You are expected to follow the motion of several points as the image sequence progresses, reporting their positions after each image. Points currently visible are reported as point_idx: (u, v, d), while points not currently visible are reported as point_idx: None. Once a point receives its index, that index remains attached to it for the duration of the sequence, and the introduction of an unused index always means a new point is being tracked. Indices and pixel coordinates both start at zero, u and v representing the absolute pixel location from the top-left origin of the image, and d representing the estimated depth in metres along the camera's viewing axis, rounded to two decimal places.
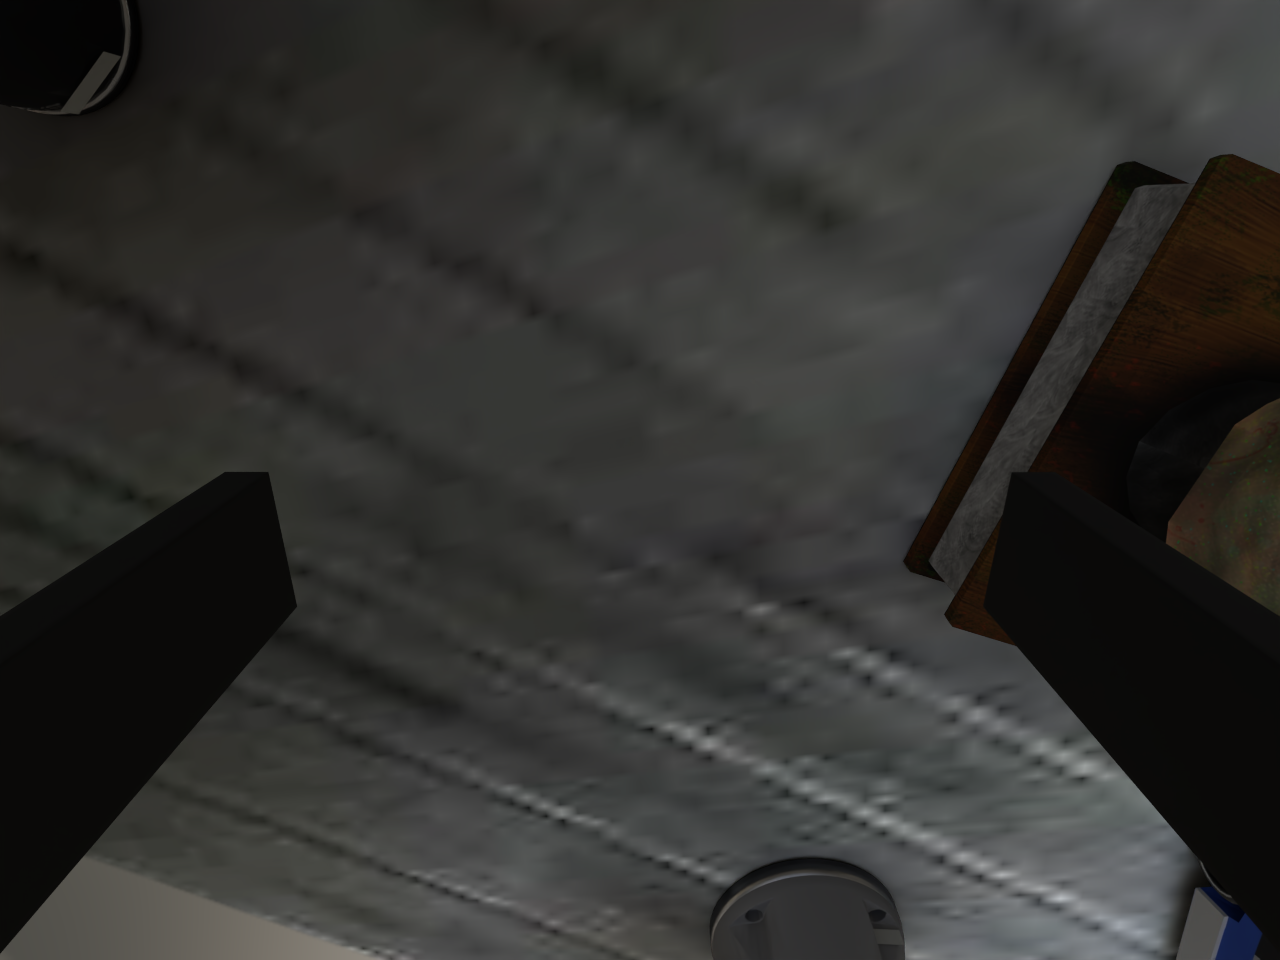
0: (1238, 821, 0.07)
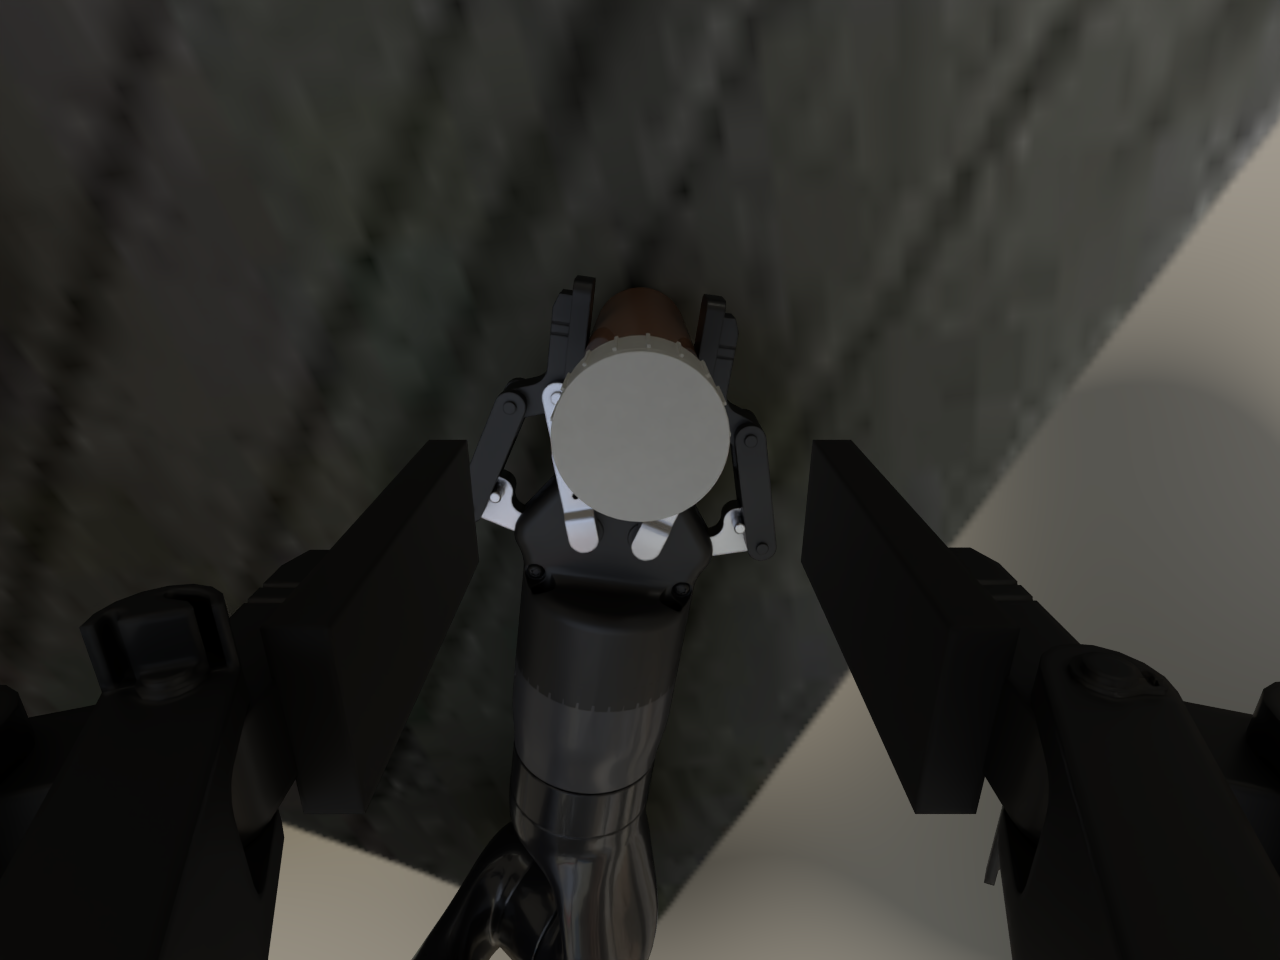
0: (899, 709, 0.09)
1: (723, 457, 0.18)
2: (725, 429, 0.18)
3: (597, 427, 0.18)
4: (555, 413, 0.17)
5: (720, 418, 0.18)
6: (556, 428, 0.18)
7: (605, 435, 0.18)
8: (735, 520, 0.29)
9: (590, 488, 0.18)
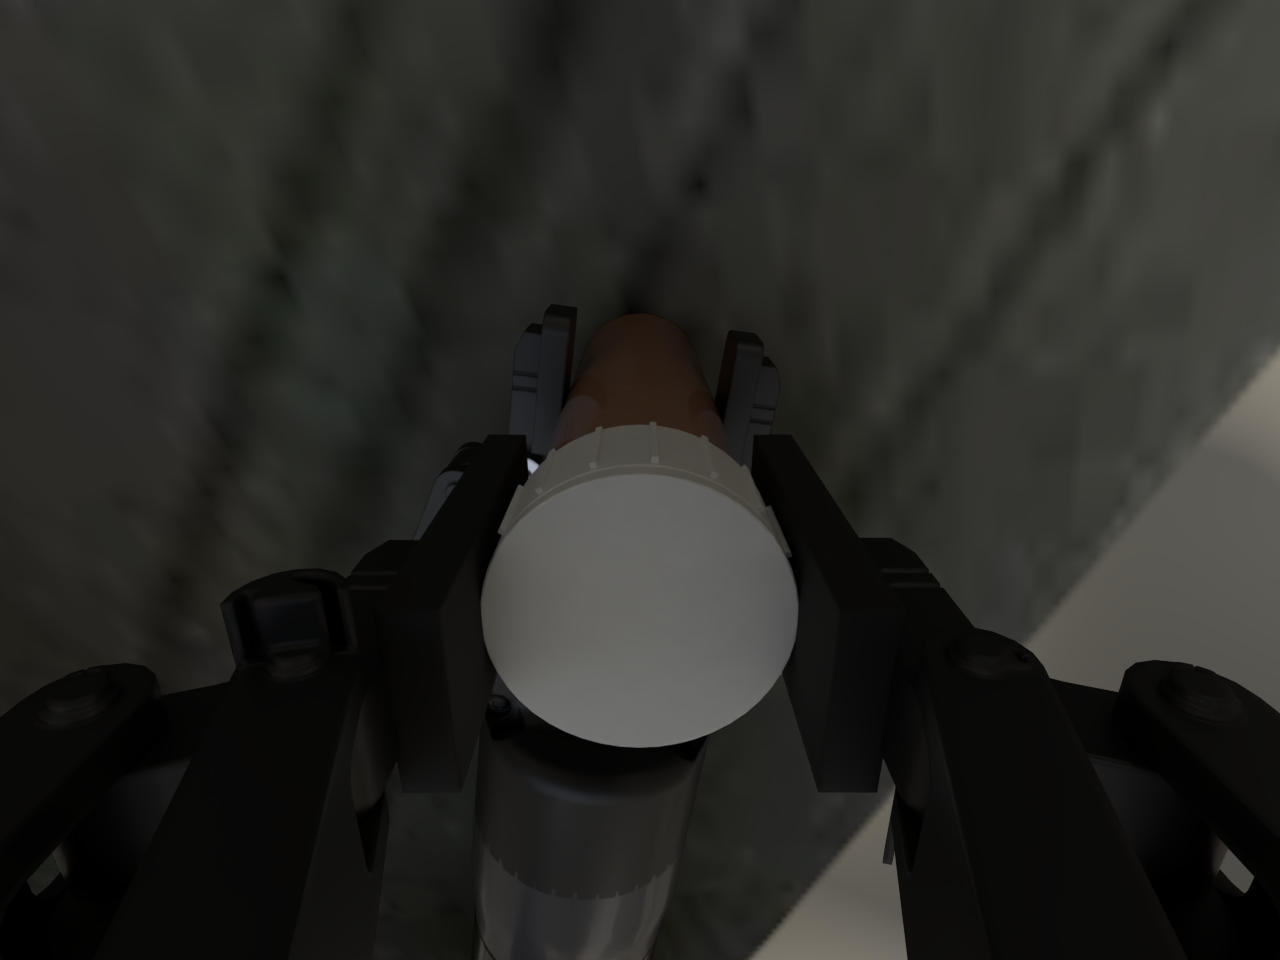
0: (808, 693, 0.09)
1: (786, 650, 0.10)
2: (791, 604, 0.10)
3: (563, 601, 0.10)
4: (487, 578, 0.10)
5: (783, 587, 0.10)
6: (489, 604, 0.10)
7: (577, 614, 0.10)
8: None
9: (552, 697, 0.10)
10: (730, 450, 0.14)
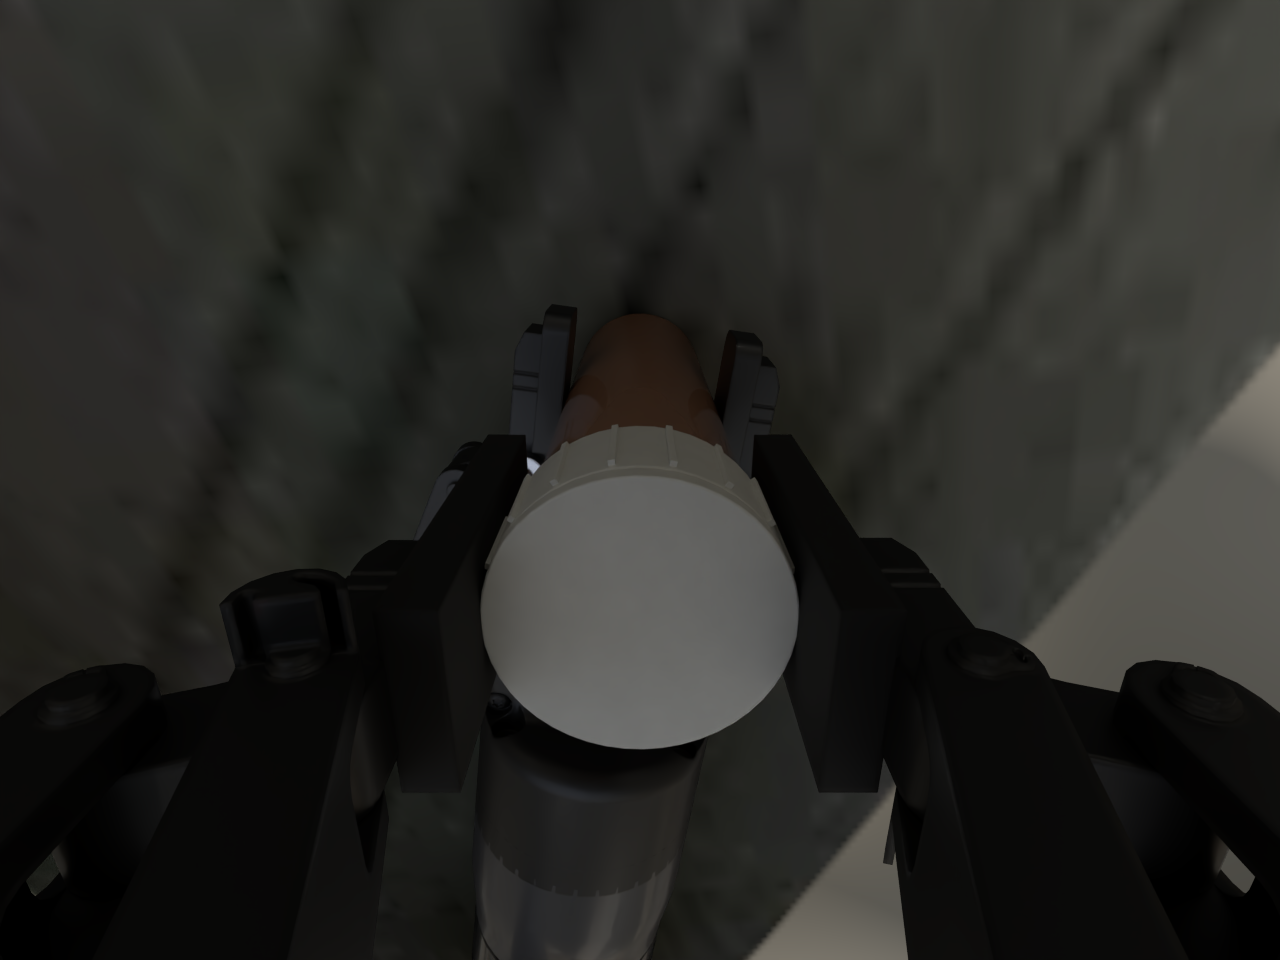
0: (808, 693, 0.09)
1: (645, 484, 0.09)
2: (590, 490, 0.09)
3: (628, 688, 0.10)
4: (616, 746, 0.11)
5: (570, 504, 0.09)
6: (640, 744, 0.11)
7: (639, 676, 0.10)
8: None
9: (741, 685, 0.10)
10: (729, 449, 0.14)
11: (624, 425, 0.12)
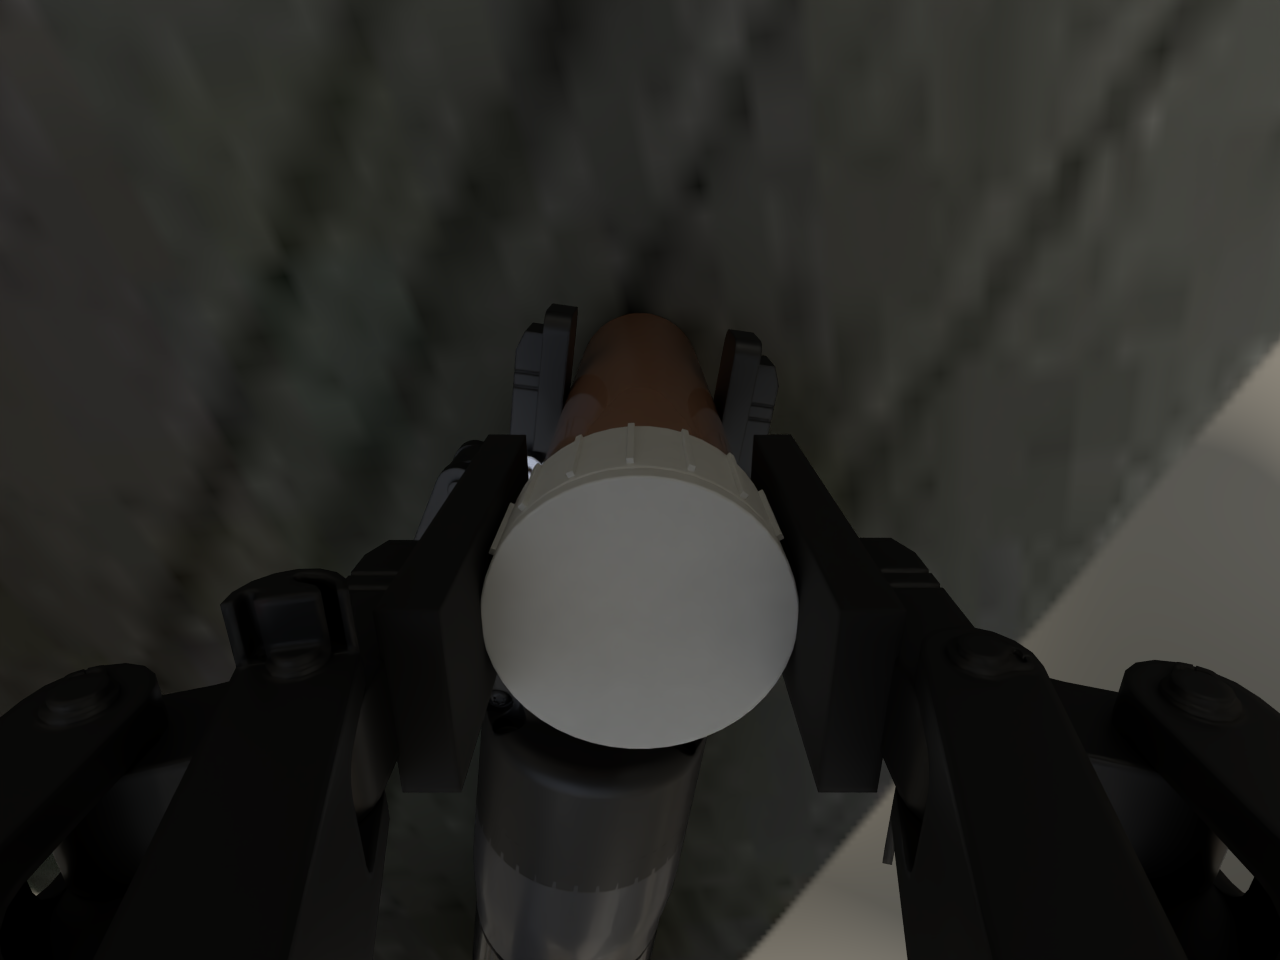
0: (808, 692, 0.09)
1: (490, 642, 0.10)
2: (509, 680, 0.10)
3: (718, 624, 0.10)
4: (796, 623, 0.10)
5: (525, 694, 0.10)
6: (789, 604, 0.10)
7: (701, 616, 0.10)
8: None
9: (699, 518, 0.09)
10: (728, 447, 0.14)
11: (624, 423, 0.12)
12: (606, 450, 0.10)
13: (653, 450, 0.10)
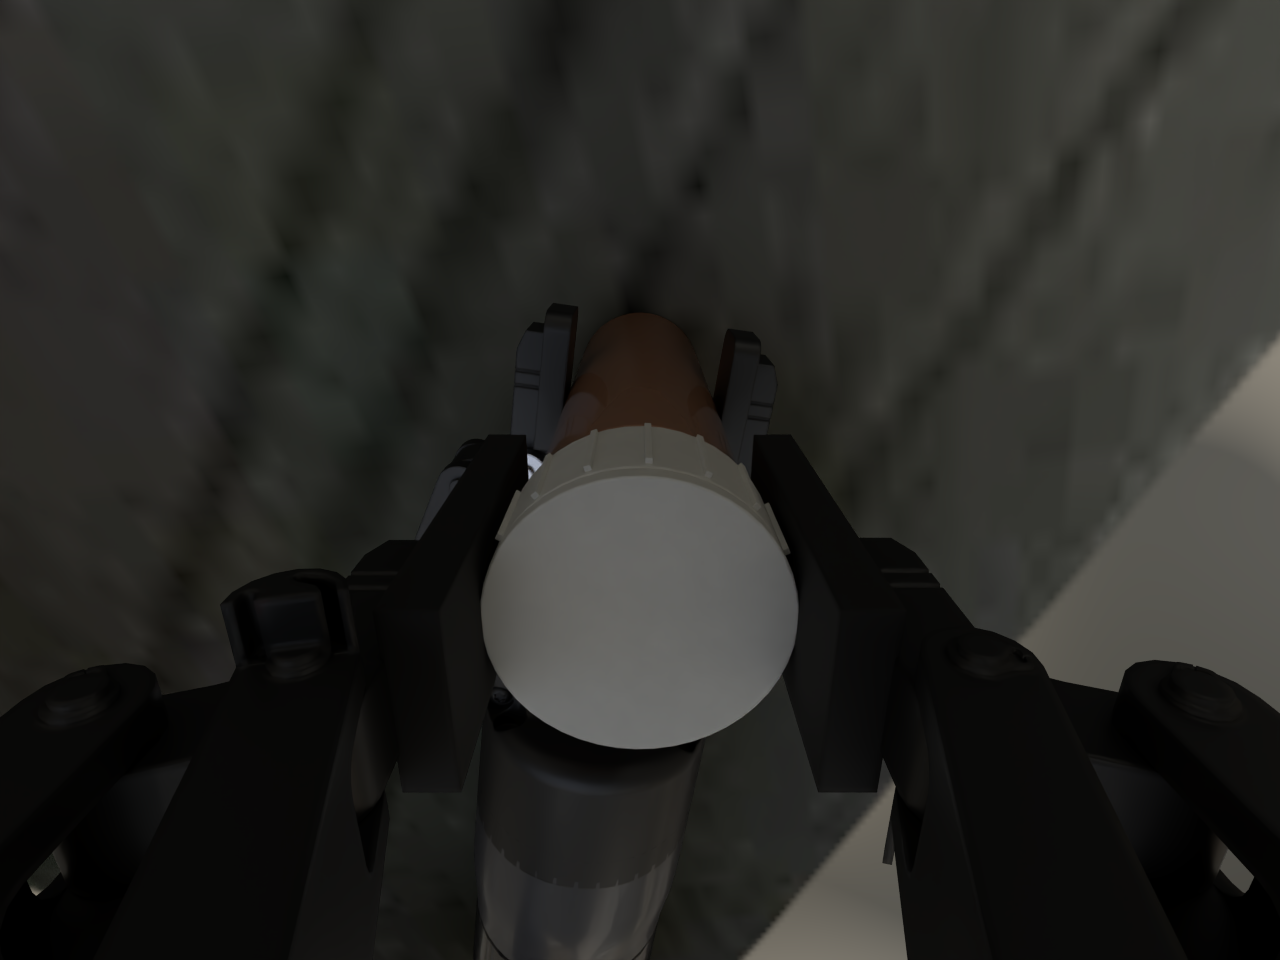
0: (808, 692, 0.09)
1: (680, 741, 0.11)
2: (724, 722, 0.11)
3: (625, 555, 0.10)
4: (610, 481, 0.09)
5: (737, 709, 0.11)
6: (586, 496, 0.09)
7: (618, 573, 0.10)
8: None
9: (513, 593, 0.10)
10: (727, 445, 0.14)
11: (624, 421, 0.12)
12: None
13: None
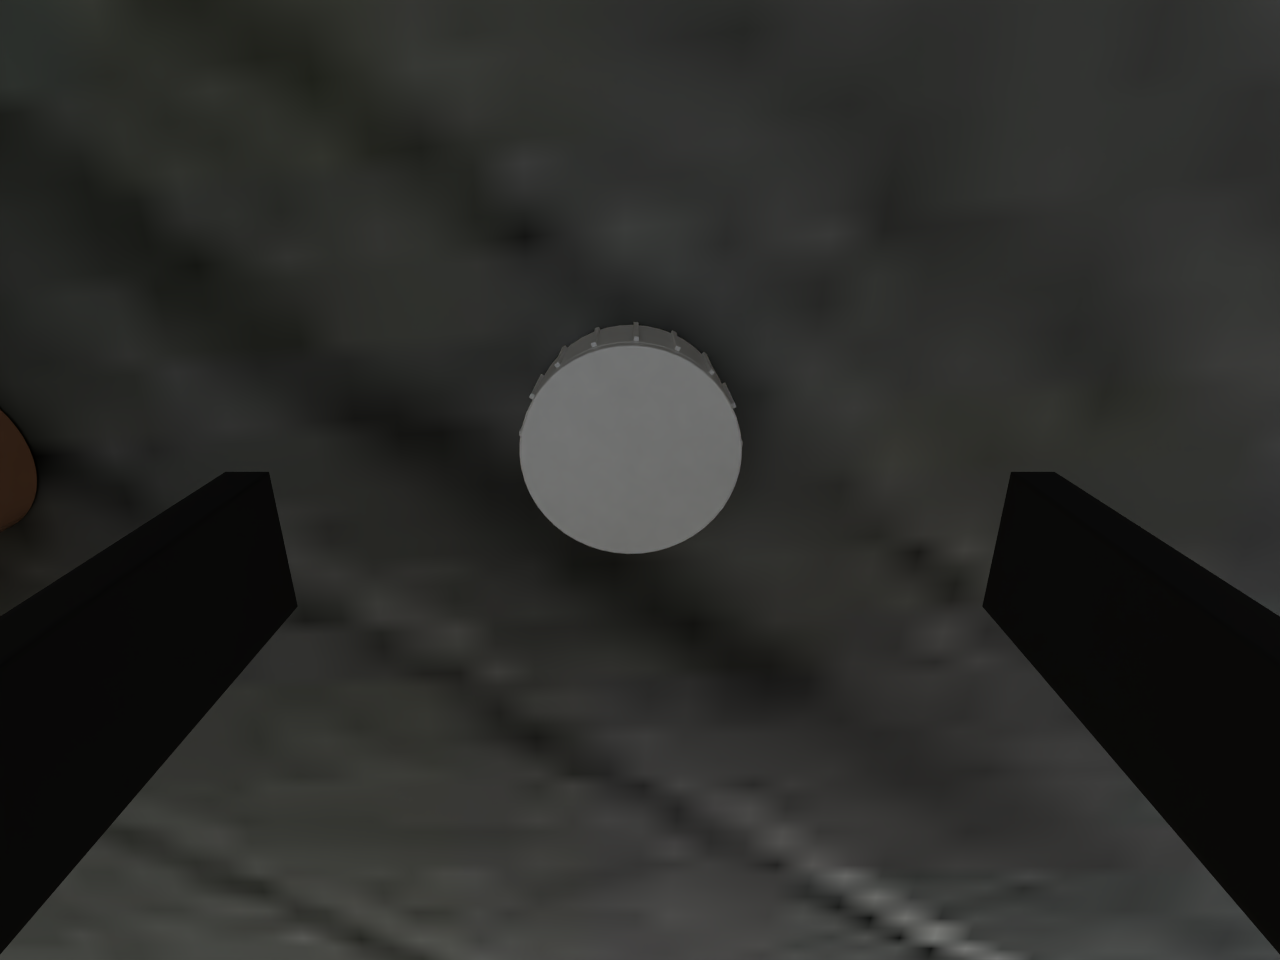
0: (1237, 820, 0.07)
1: (661, 546, 0.15)
2: (691, 531, 0.15)
3: (620, 404, 0.14)
4: (610, 349, 0.13)
5: (700, 521, 0.15)
6: (593, 360, 0.14)
7: (615, 417, 0.14)
8: None
9: (542, 433, 0.14)
10: None
11: None
12: None
13: None
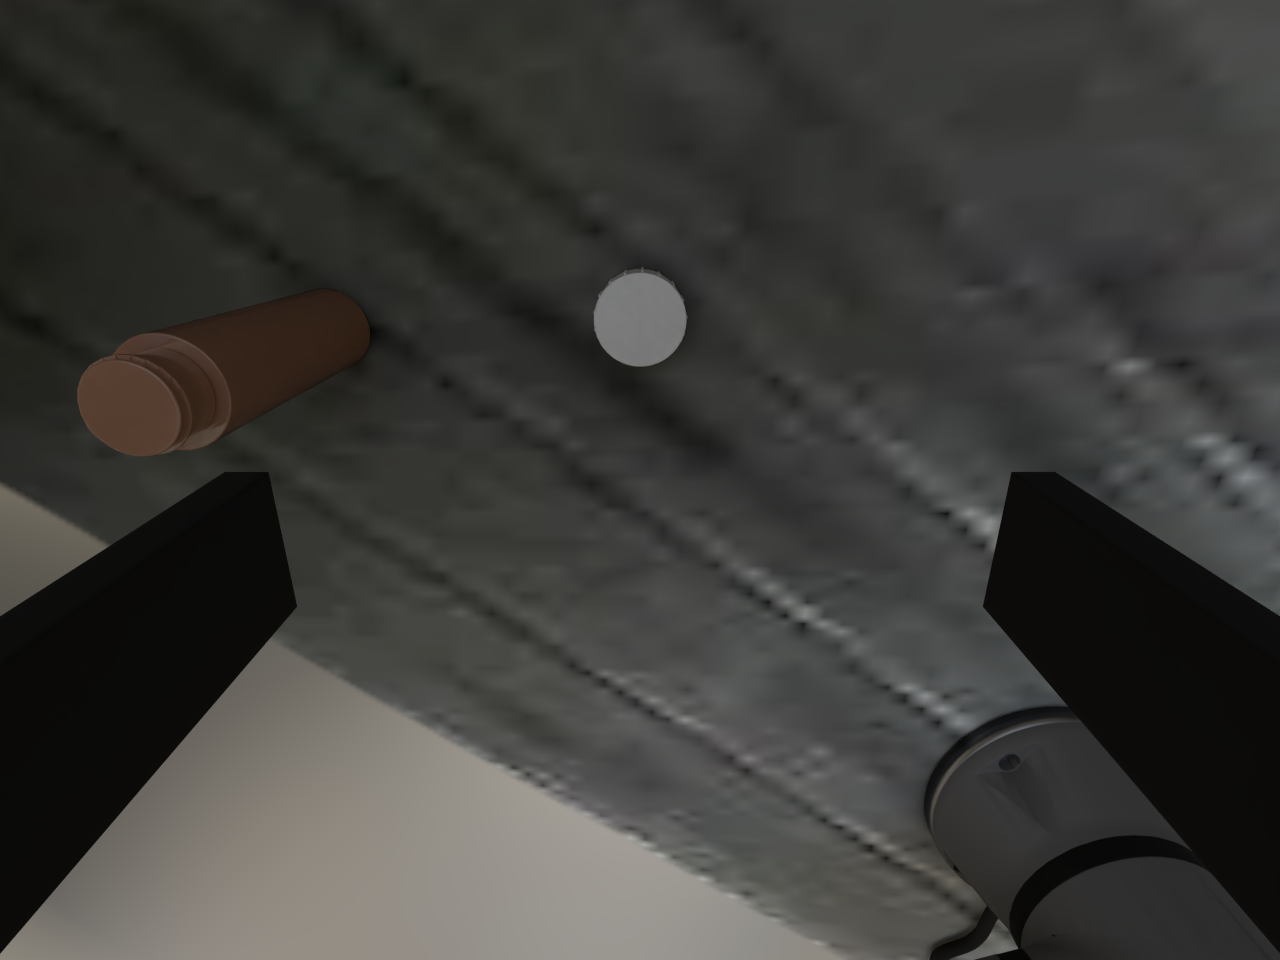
0: (1238, 820, 0.07)
1: (652, 362, 0.35)
2: (666, 356, 0.35)
3: (635, 297, 0.34)
4: (632, 274, 0.34)
5: (669, 350, 0.35)
6: (625, 278, 0.34)
7: (634, 303, 0.34)
8: None
9: (604, 310, 0.34)
10: None
11: (234, 394, 0.25)
12: None
13: None
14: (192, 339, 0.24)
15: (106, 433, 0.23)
